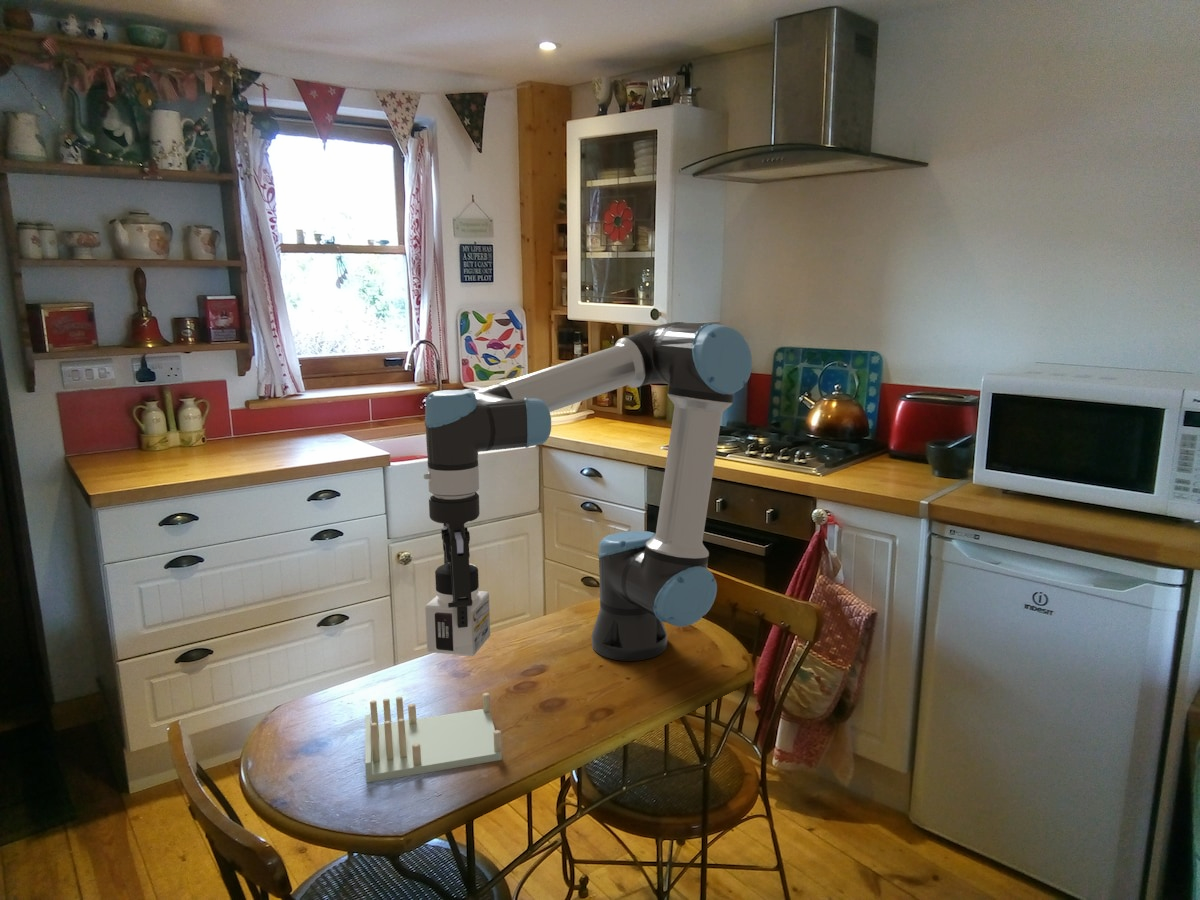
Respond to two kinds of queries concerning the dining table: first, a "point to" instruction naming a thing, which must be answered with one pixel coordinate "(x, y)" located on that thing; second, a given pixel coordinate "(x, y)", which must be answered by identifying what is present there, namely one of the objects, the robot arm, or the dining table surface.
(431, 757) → the dish rack
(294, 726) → the dining table surface
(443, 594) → the container
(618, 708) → the dining table surface
